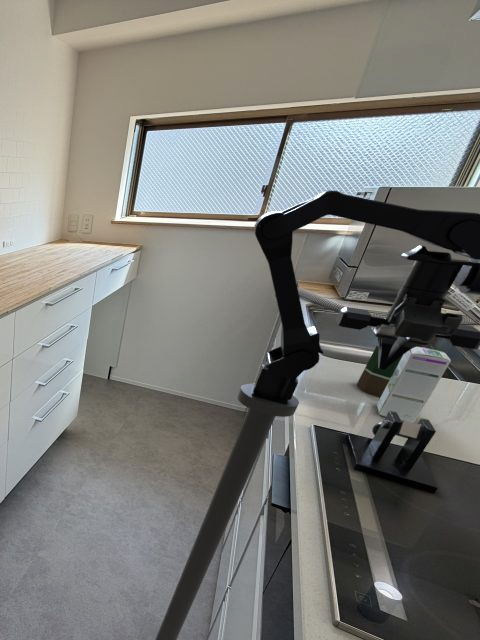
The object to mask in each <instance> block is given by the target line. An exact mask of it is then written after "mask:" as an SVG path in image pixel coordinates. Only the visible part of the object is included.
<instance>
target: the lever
mask: <svg viewBox="0 0 480 640" xmlns="http://www.w3.org/2000/svg"><path fill="white" fill-rule="evenodd" d="M381 423H382V422H378V423H375V424H374V426H373V427H372V430H371V431H372V434H373V436H375V434H376V433H377V431H378V429H379V428H380V426H381ZM420 427H421V425H420V424H417V423H416V422H414V423H412V422H408V421H404V420H403V421H402V425H401V426H400V428H399V430H398V431H397V433H396V435H395V436H396V437H401V438H405V439H413V438H417V436H418V433H419V430H420Z"/></svg>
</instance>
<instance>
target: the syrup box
mask: <svg viewBox="0 0 480 640" xmlns="http://www.w3.org/2000/svg"><path fill="white" fill-rule="evenodd" d="M451 361H452V360H451V358H450V357H449V356H448V355H447V353H446V352H444V351H442V350H438V349H434V348H428V347H426V348H422V347H415V348H412V349H411V350H409V351H408V352H406V353H405V354H404V355H403V356H402V358H401V360H400V362H399V364H398V366H397V367H396V369H395V371H394V373H393V375H392V377H391V379H390V380H389V382H388V384H387V386H386V388H385V390H384V391H383V393H382V395H381V397H380V396H379V399H378V401H377V403H376V408H377V412H378V415H379V416H383V417H384V418H385V417H386V416H387V414H388V412H389V411H393V412H397V414H398V416H399V418H400V420H401V421H403V420H404V421H408V422H412V423H416V421H417V419H418V417H419V416H420V414H422V413H421V412H422V411H423V410H424V407H425V406H426V404H427V403H428V401H429V399H430V398H431V396H432V394H433V393H434V391H435V389H436V388H437V385H438V384H439V382H440V381H441V379H442V377H443V375H444V374H445V371H446V370H447V369H448V366H449V365H450V364H451Z"/></svg>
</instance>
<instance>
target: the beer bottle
mask: <svg viewBox="0 0 480 640" xmlns="http://www.w3.org/2000/svg"><path fill="white" fill-rule="evenodd" d="M395 336H396V337H397V338H398V336H397V335H396V334H395ZM393 345H394V344H393ZM417 347H422V348H428V345H427V346H425V345H420V346H417ZM378 354H379V344H378V343H377V344H376V347H375V348H374V350H373V352H372V354H371V356H370V357H369V360H367V361H368V362H367V364H366V365H365V367H364V369H363V371H362V373H361V374H360V377H359V378H358V381H357V382H356V383H357V384H356V386H357V387H358V388H359V389H361V391H363V392H365V393H368V394H371V395H374V396H376V397H379V398H380V397H381V395H382V393H383V391H384V390H385V388H386V386H387V384H388V382H389V380H390V379H391V377H392V375H393V373H394V371H395V369H396V367H397V366H398V364H399V362H400V360H401V358H402V356H403V355H404V354H403V355H402V356H401V357H400V358H398V359H397V360H396V361H395V362H394V363H392V364H391V365H390V366H389V367H388V368H386V369H385V370H382V369H379V368H378Z"/></svg>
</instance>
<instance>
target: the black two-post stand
mask: <svg viewBox="0 0 480 640" xmlns="http://www.w3.org/2000/svg"><path fill="white" fill-rule="evenodd" d="M380 423H381V426H380V428H379V429H378V431H377V433H376V434H375V435H373V438H369V437H365V436H361V435H357V434H354V433H351V432H347V434H346V435H345V437H344V438H345V442H346V446H347V449H348V453H349V457H350V461H351V464H352V467H353V470H354V471H358V472H361V473H364V474H368V475H371V476H374V477H378V478H381V479H384V480H388V481H392V482H395V483H398V484H402V485H403V486H404V485H405V486H408V487H411V488H415V489H418V490H420V491H421V490H422V491H424V492H428V493H431V494H435V493H436V492H437V491H438V489H439V486H438V485H437V483H436V481H435V479H434V477H433V476H432V473H431V472H430V470H429V467H428V466H427V464H426V462H425V460H424V458H423V457H422V453H424V450H426V447H428V445H429V443H430V442H431V440H432V438H433V437H434V436H435V434H436V433H437V431H436V429H435V427H434V425H433V424H432V423H431V421H430V420H429V419H426V418H421V417H420V418H419V420H418V422H417V423H416V424H420V425H421V427H420V430H419V433H418V436H417V438H413V439H408V438H406V441H405V442H404V444H403V446H400V445H399V446H398V445H395V444H391V443H392V441H393V439H394V438H395V436H396V433H397V431H398V430H399V428H400V426H401V425H402V421H401V420H400V418H399V416H398V414H397V412H393V411H389V412H388V414H387V416H386V417H385V416H384V419H383V420H382V421H381V422H380Z"/></svg>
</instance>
